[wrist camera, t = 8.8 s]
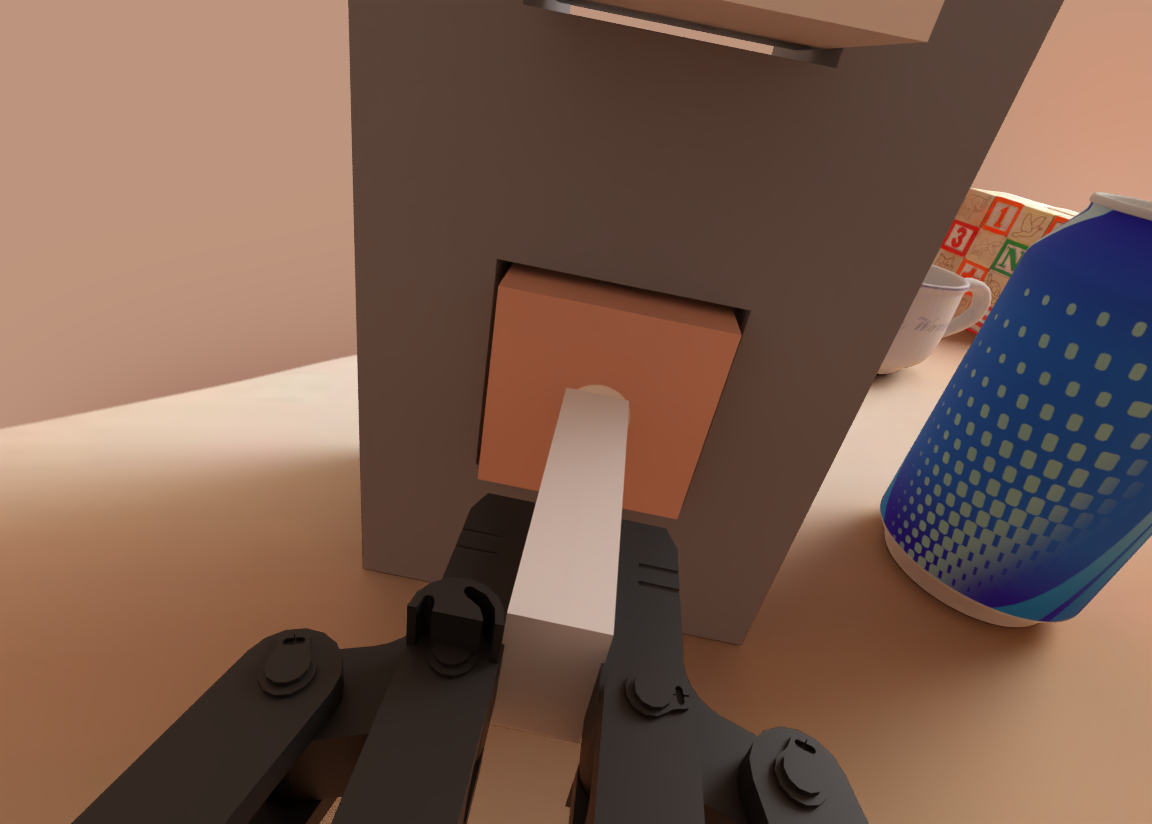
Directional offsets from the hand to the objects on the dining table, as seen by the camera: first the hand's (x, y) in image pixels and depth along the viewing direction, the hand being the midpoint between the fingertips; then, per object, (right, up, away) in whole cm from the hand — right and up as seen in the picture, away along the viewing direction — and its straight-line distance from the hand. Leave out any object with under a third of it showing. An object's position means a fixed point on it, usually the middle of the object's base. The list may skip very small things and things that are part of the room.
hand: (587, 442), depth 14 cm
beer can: (+18, -7, +13) cm, 23 cm away
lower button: (0, 0, +6) cm, 6 cm away
